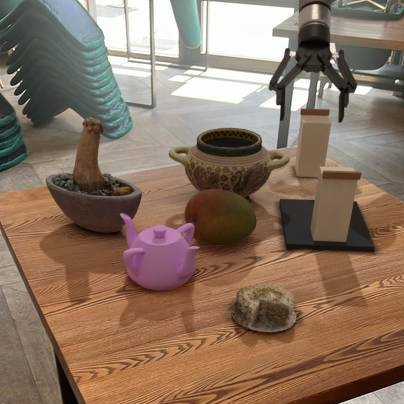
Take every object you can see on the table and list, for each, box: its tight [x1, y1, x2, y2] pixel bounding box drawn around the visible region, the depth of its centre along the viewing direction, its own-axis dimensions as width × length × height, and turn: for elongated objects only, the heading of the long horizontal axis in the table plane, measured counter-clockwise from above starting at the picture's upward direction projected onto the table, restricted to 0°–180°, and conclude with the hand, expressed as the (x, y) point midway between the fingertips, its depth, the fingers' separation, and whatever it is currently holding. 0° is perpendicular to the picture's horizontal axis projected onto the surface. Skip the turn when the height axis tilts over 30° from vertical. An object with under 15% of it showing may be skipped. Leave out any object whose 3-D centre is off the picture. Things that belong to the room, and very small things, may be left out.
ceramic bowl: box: [168, 127, 291, 202], centre depth 117 cm, size 24×18×15 cm
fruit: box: [184, 189, 258, 247], centre depth 103 cm, size 12×12×10 cm
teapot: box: [120, 213, 201, 291], centre depth 94 cm, size 12×14×9 cm
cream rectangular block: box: [294, 108, 332, 178], centre depth 130 cm, size 6×6×13 cm
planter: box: [45, 116, 143, 234], centre depth 104 cm, size 15×17×20 cm
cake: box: [231, 283, 297, 333], centre depth 86 cm, size 10×10×5 cm
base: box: [278, 166, 376, 253], centre depth 108 cm, size 16×20×14 cm
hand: (311, 118), depth 132 cm, fingers open, 13 cm apart
